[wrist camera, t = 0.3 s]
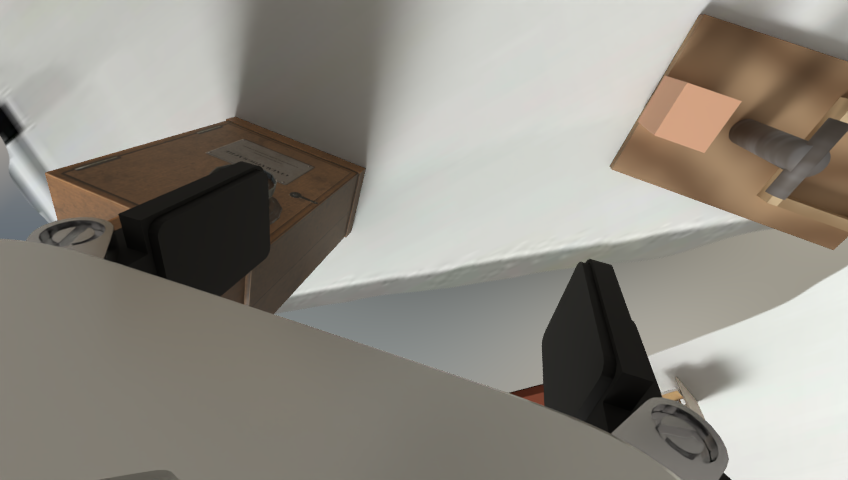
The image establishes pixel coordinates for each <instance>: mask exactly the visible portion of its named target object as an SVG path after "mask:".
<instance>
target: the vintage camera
mask: <svg viewBox="0 0 848 480" xmlns="http://www.w3.org/2000/svg"><path fill="white" fill-rule="evenodd" d="M240 161H243V162H247V163H250V164H254V165H257V166H261V167H262V168H263V170H264V172H265V173H266V174H267V176H268V190H269V219H270V252H269V255H268V256H267V258H266V259H265V260H263V261H262V262H261V263H260V264H259V265H257V266H256V267H255V268H254V269H253V270H252V271H250V272H249V273H248V274H247V275H246V276H244V277H243V278H242V279H241V280H240V281H238V282H237V283H236V284H235V285H234V286H233V287H231V288H230V289H229V290H228V291H227V292H225V293H224V294H223V295H222V296H221V297H223V298H226V299H229V300H232V301H235V302H238V303H241V304H244V305H247V306H250V307H253V308H256V309H259V310H262V311H265V312H268V313H271V314H274V313H275V312H276V311H277V310H278V309H279V308H280V307H281V306H282V304H283V303H284V302H285V301H286V300H287V299H288V298H289V297H290V296H291V295H292V294H293V292H294V291H295V290H296V289H297V288H298V287H299V286H300V285H301V284H302V283H303V282H304V280H305V279H306V278H307V277H308V276H309V275H310V274H311V273H312V272H313V271H314V270H315V268H316V267H317V266H318V265H319V264H320V263H321V262H322V261H323V260H324V259H325V258H326V256H327V255H328V254H329V253H330V252H331V251H332V250H333V249H334V248H335V247H336V246H337V244H338V243H339V242H340V241H341V240H342V239H343V238H344V237H347V236H348V235H349V233H350V232H351V230H352V226H353V221H354V217H355V213H356V208H357V204H358V200H359V195H360V191H361V187H362V182H363V178H364V174H365V170H366V168H363V167H361V166H358V165H356V164H353V163H351V162H348V161H346V160H343V159H341V158H338V157H336V156H333V155H331V154H328V153H326V152H323V151H321V150H318V149H315V148H313V147H310V146H308V145H305V144H303V143H300V142H298V141H295V140H293V139H290V138H288V137H285V136H283V135H280V134H278V133H275V132H273V131H270V130H267V129H265V128H262V127H260V126H257V125H255V124H252V123H250V122H247V121H245V120H242V119H240V118H237V117H232V118H229V119H226V121H224V122H220V123H217V124H213V125H210V126H206V127H203V128H199V129H196V130H192V131H189V132H185V133H182V134H178V135H175V136H171V137H168V138H164V139H161V140H157V141H154V142H150V143H147V144H143V145H140V146H136V147H133V148H130V149H126V150H123V151H119V152H116V153H112V154H109V155H105V156H102V157H98V158H95V159H91V160H88V161H84V162H81V163H77V164H74V165H70V166H67V167H63V168H60V169H56V170H53V171H49V172H46V173H45V175H46V178H47V182H48V186H49V190H50V193H51V197H52V201H53V204H54V208H55V212H56V216H57V219H58V220H63V219H67V218H77V217H94V218H100V219H104V220H106V221H109V222H110V223H111V224H112V225H113V226H114V230H117V229H119V228H122V226H121V222H120V219H119V215H118V214H119V213H121V212H124V211H126V210H128V209H131V208H133V207H135V206H138V205H140V204H142V203H144V202H147V201H149V200H151V199H154V198H156V197H158V196H161V195H163V194H165V193H168V192H170V191H172V190H175V189H177V188H179V187H182V186H184V185H186V184H189V183H191V182H193V181H196V180H198V179H200V178H203V177H205V176H207V175H210V174H212V173H214V172H217V171H219V170H221V169H223V168H226V167H228V166H230V165H233V164H235V163H237V162H240Z"/></svg>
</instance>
